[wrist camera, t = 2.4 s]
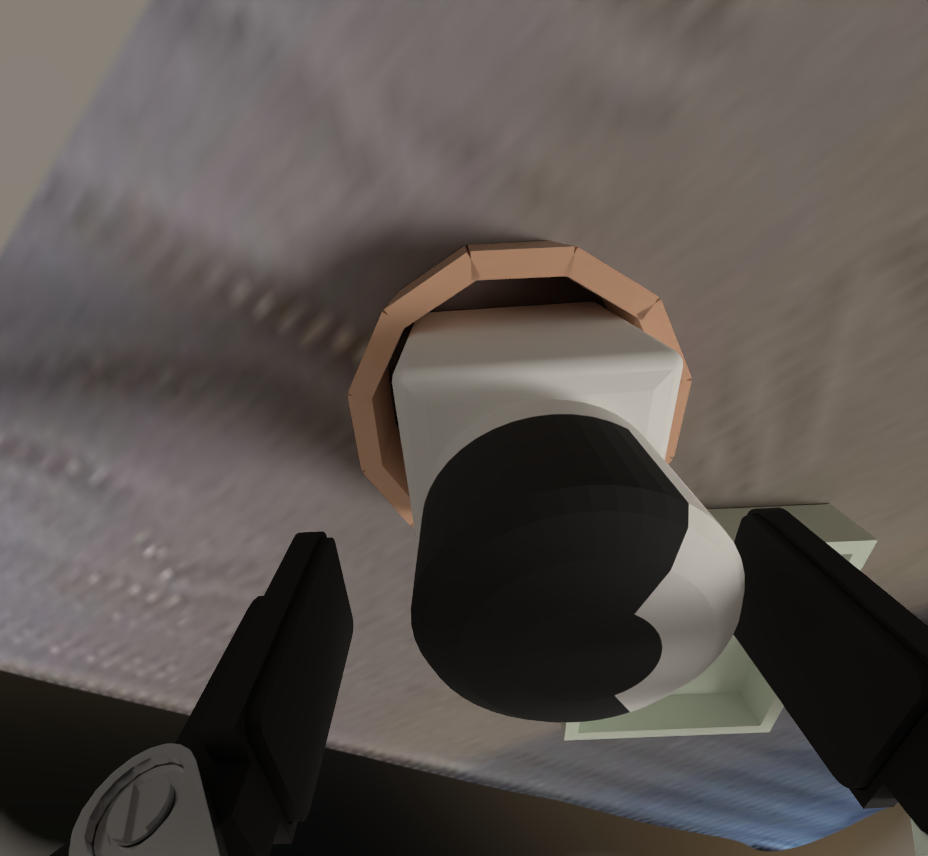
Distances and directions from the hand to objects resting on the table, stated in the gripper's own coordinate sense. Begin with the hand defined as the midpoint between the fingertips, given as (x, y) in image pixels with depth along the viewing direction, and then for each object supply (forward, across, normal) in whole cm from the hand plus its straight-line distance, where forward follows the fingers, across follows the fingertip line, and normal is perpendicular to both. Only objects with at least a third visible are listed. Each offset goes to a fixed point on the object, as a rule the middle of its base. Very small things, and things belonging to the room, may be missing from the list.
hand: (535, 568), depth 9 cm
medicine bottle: (+10, 0, -1) cm, 10 cm away
